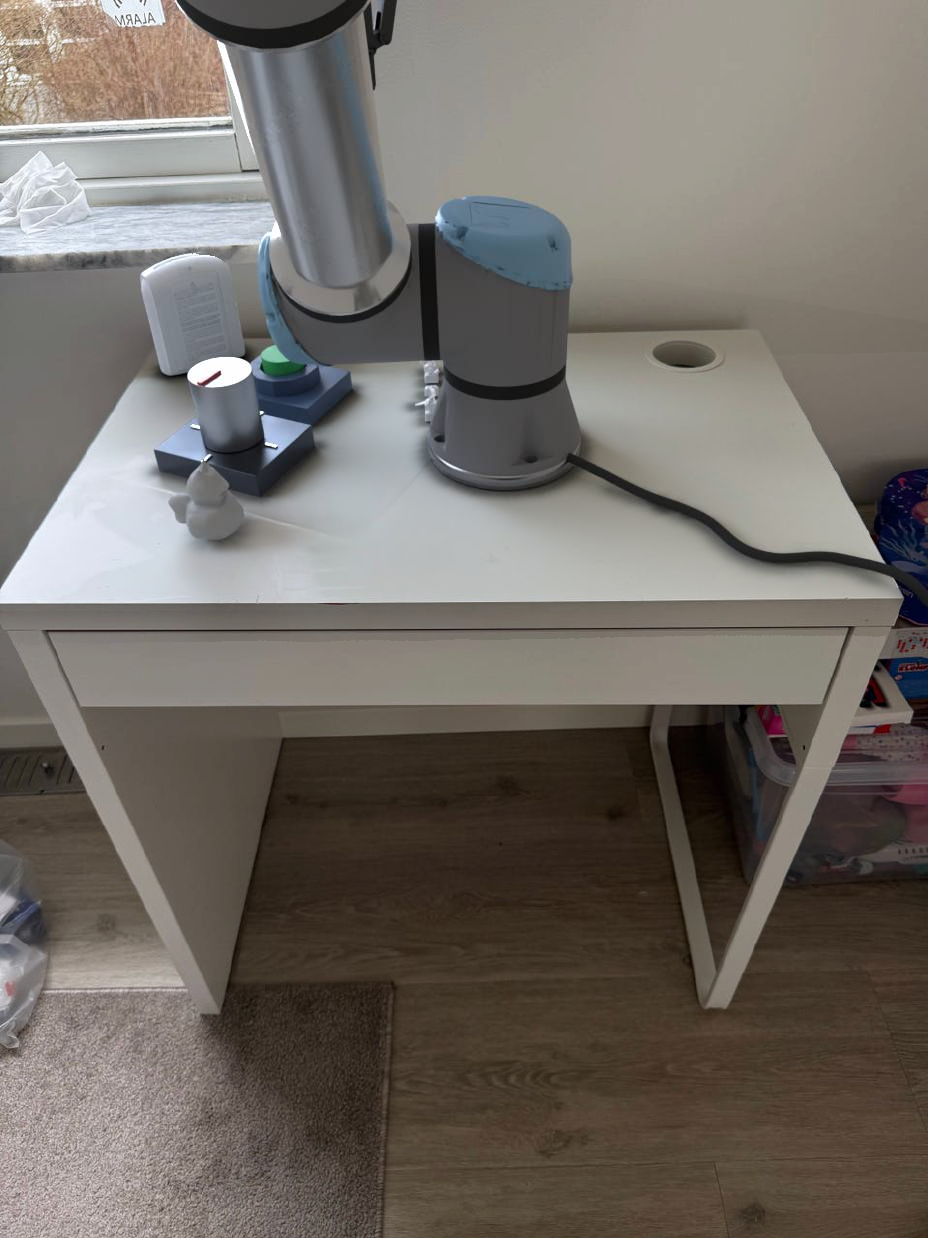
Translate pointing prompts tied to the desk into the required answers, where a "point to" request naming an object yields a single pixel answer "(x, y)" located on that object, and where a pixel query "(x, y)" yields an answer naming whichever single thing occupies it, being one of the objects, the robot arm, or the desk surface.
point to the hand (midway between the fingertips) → (359, 127)
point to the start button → (278, 363)
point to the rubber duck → (207, 505)
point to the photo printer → (191, 311)
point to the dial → (226, 404)
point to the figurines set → (430, 389)
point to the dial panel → (239, 455)
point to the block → (300, 391)
